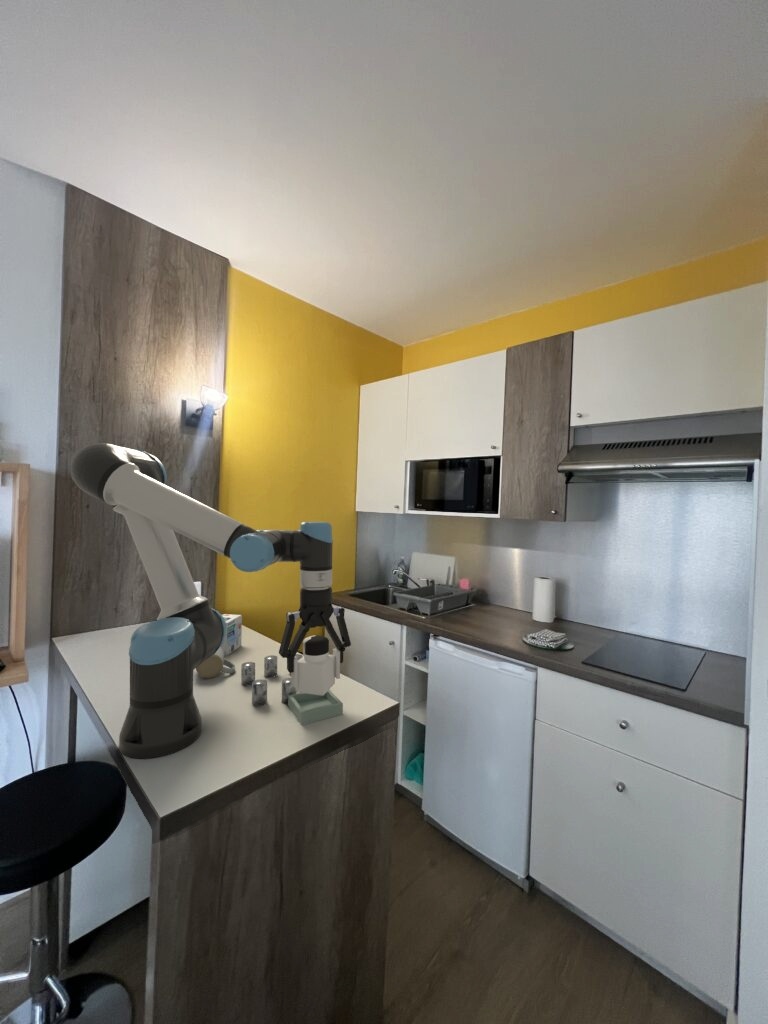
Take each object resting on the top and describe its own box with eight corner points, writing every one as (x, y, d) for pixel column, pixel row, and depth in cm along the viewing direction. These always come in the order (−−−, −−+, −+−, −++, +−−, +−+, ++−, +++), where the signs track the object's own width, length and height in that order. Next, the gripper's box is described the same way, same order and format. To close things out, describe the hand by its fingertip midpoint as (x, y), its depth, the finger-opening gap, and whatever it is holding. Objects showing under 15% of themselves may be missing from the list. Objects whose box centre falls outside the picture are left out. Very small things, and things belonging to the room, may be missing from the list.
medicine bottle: (335, 683, 102) (335, 634, 102) (323, 696, 95) (323, 643, 95) (308, 680, 104) (308, 632, 104) (295, 692, 97) (295, 640, 97)
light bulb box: (227, 656, 135) (227, 622, 135) (207, 655, 136) (207, 621, 136) (242, 645, 146) (242, 614, 145) (223, 644, 146) (224, 613, 146)
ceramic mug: (194, 681, 115) (195, 653, 115) (195, 670, 123) (196, 644, 123) (235, 677, 119) (236, 649, 119) (234, 666, 127) (235, 641, 127)
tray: (301, 724, 93) (301, 713, 93) (288, 705, 102) (288, 695, 102) (342, 714, 98) (342, 703, 98) (326, 697, 107) (326, 687, 107)
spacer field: (255, 711, 99) (255, 690, 99) (238, 678, 117) (238, 660, 117) (323, 696, 107) (324, 677, 107) (297, 667, 126) (297, 651, 126)
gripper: (272, 594, 91) (272, 697, 91) (365, 585, 102) (365, 677, 102) (264, 588, 97) (264, 684, 98) (352, 580, 108) (352, 667, 108)
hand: (315, 680), depth 100 cm, fingers closed on medicine bottle, 10 cm apart
